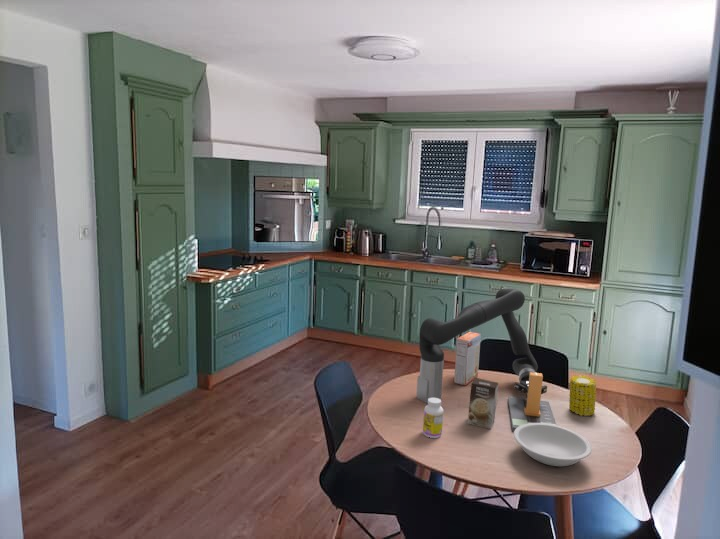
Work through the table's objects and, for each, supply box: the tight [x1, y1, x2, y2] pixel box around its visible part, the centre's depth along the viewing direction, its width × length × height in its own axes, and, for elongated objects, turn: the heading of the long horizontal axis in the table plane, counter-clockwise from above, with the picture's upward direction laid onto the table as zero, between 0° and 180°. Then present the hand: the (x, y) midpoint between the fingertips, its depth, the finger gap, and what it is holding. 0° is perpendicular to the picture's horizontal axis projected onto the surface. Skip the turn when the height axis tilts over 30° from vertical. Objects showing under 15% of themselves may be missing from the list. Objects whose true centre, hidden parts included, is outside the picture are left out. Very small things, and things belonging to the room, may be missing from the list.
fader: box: [524, 371, 544, 417], centre depth 198 cm, size 4×6×16 cm
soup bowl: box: [513, 423, 593, 467], centre depth 170 cm, size 24×24×7 cm
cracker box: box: [453, 331, 482, 386], centre depth 233 cm, size 14×6×21 cm, turn 144°
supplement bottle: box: [422, 398, 444, 439], centre depth 182 cm, size 7×7×13 cm
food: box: [568, 374, 597, 417], centre depth 206 cm, size 15×12×10 cm
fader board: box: [507, 396, 557, 433], centre depth 200 cm, size 28×16×4 cm, turn 168°
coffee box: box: [467, 377, 499, 430], centre depth 192 cm, size 9×6×16 cm
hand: (533, 395), depth 200 cm, fingers closed
